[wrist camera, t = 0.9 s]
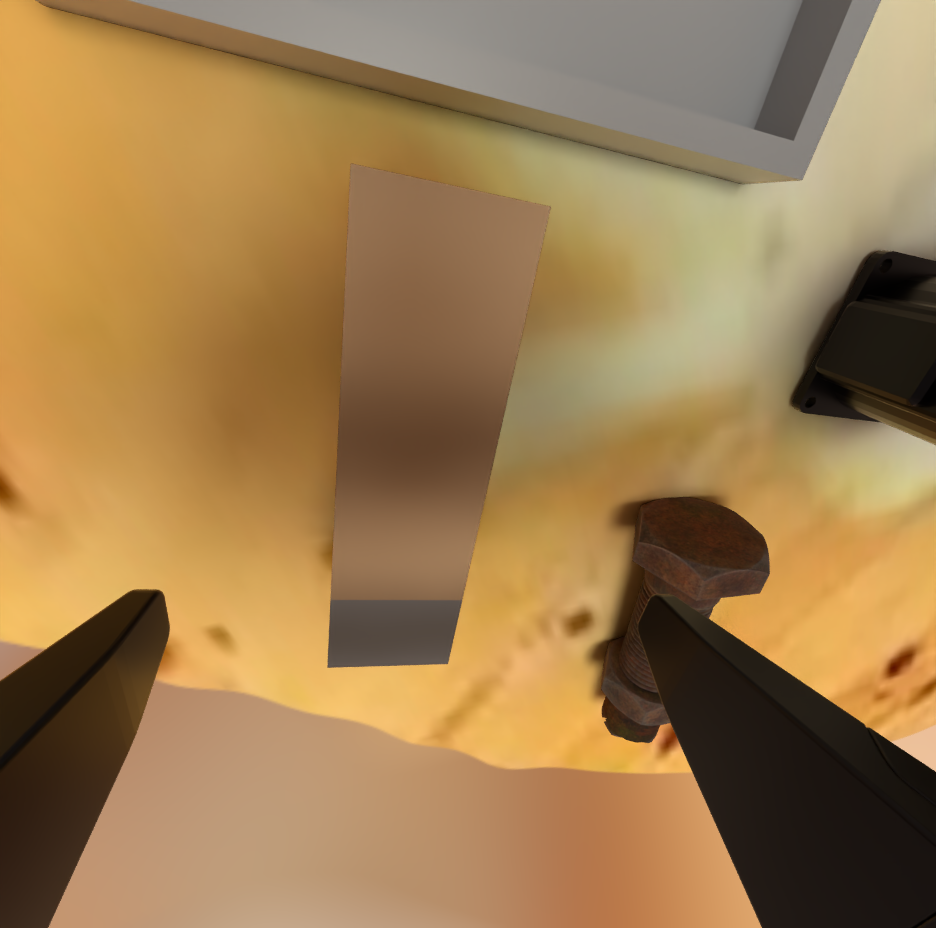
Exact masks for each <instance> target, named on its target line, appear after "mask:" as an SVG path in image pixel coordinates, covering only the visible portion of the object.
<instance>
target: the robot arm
mask: <svg viewBox="0 0 936 928" xmlns="http://www.w3.org/2000/svg"><path fill="white" fill-rule="evenodd" d="M881 264H882V265H881ZM880 265H881V267H880ZM793 407H794V408H795V409H797V410H799V411H801V412H803V413H808V414H817V415H825V416H833V417H841V418H850V419H858V420H866V421H875V422H883V423H885V424H888V425H890V426H892V427H895V428H897V429H899V430H902V431H904V432H906V433H909V434H911V435H913V436H916V437H918V438H920V439H923V440H925V441H927V442H930V443H932V444H935V445H936V261H932V260H928V259H924V258H920V257H916V256H911V255H907V254H903V253H899V252H894V251H878V252H876V253H874V254H873V255H872V256H870V257H869V259H868V260H867V262H866V263H865V265H864V267H863V269H862V271H861V273H860V275H859V277H858V278H857V280H856V282H855V284H854V286H853V288H852V290H851V292H850V294H849V295H848V297H847V299H846V301H845V303H844V305H843V307H842V309H841V310H840V312H839V314H838V316H837V318H836V320H835V322H834V324H833V325H832V327H831V329H830V331H829V333H828V335H827V337H826V339H825V341H824V342H823V344H822V346H821V348H820V350H819V352H818V354H817V356H816V357H815V359H814V361H813V363H812V365H811V367H810V369H809V371H808V373H807V374H806V376H805V378H804V380H803V382H802V384H801V386H800V388H799V389H798V391H797V393H796V395H795V397H794V399H793ZM169 632H170V624H169V619H168V613H167V607H166V602H165V597H164V594H163V592H162V591H160V590H148V589H136V590H132V591H130V592H128V593H126V594H125V595H123V596H122V597H120V598H119V599H118V600H116V601H115V602H113V603H112V604H110V605H109V606H107V607H106V608H105V609H103V610H102V611H100V612H99V613H97V614H96V615H94V616H93V617H92V618H90V619H89V620H87V621H86V622H84V623H83V624H81V625H80V626H79V627H77V628H76V629H74V630H73V631H71V632H70V633H68V634H67V635H65V636H64V637H63V638H61V639H60V640H58V641H57V642H55V643H54V644H52V645H51V646H50V647H48V648H47V649H45V650H44V651H42V652H41V653H40V654H38V655H37V656H35V657H34V658H32V659H31V660H29V661H28V662H26V663H25V664H24V665H22V666H21V667H19V668H18V669H16V670H15V671H13V672H12V673H11V674H9V675H8V676H6V677H5V678H4V679H2V680H1V681H0V928H48V927H49V925H50V923H51V920H52V918H53V916H54V914H55V912H56V909H57V907H58V905H59V903H60V901H61V899H62V896H63V894H64V892H65V890H66V888H67V885H68V883H69V881H70V879H71V876H72V874H73V872H74V870H75V868H76V866H77V863H78V861H79V859H80V857H81V855H82V853H83V850H84V848H85V846H86V844H87V842H88V839H89V837H90V835H91V833H92V831H93V829H94V826H95V824H96V822H97V820H98V817H99V815H100V813H101V811H102V809H103V807H104V805H105V802H106V800H107V798H108V796H109V793H110V791H111V789H112V787H113V785H114V783H115V781H116V778H117V776H118V774H119V772H120V770H121V767H122V765H123V763H124V761H125V758H126V756H127V754H128V752H129V750H130V747H131V745H132V743H133V740H134V738H135V735H136V733H137V730H138V727H139V724H140V722H141V719H142V716H143V713H144V710H145V707H146V704H147V701H148V698H149V695H150V692H151V689H152V686H153V683H154V680H155V677H156V674H157V671H158V668H159V665H160V662H161V659H162V656H163V653H164V650H165V647H166V644H167V641H168V637H169ZM638 634H639V637H640V640H641V643H642V646H643V649H644V652H645V655H646V658H647V661H648V663H649V666H650V669H651V672H652V675H653V678H654V681H655V684H656V687H657V690H658V693H659V696H660V698H661V701H662V704H663V706H664V709H665V711H666V713H667V716H668V718H669V721H670V723H671V725H672V727H673V730H674V732H675V734H676V736H677V738H678V741H679V743H680V745H681V747H682V750H683V752H684V754H685V756H686V759H687V761H688V763H689V765H690V768H691V770H692V772H693V774H694V777H695V779H696V781H697V783H698V786H699V788H700V790H701V792H702V794H703V797H704V799H705V801H706V803H707V806H708V808H709V810H710V812H711V815H712V817H713V819H714V821H715V823H716V826H717V828H718V830H719V833H720V835H721V837H722V839H723V842H724V844H725V846H726V848H727V850H728V853H729V855H730V857H731V859H732V862H733V864H734V866H735V868H736V870H737V873H738V875H739V877H740V880H741V882H742V884H743V886H744V888H745V891H746V893H747V895H748V898H749V900H750V902H751V904H752V906H753V909H754V911H755V913H756V915H757V918H758V920H759V922H760V924H761V927H762V928H936V772H935V771H934V770H932V769H931V768H929V767H928V766H926V765H925V764H923V763H922V762H920V761H919V760H917V759H916V758H914V757H913V756H911V755H910V754H908V753H907V752H905V751H904V750H902V749H901V748H899V747H898V746H896V745H894V744H893V743H892V742H890V741H889V740H887V739H886V738H884V737H883V736H881V735H880V734H878V733H877V732H875V731H874V730H872V729H871V728H868V727H867V728H866V726H865V725H864V724H863V723H862V722H860V721H859V720H858V719H856V718H855V717H853V716H852V715H850V714H849V713H847V712H846V711H844V710H843V709H841V708H840V707H838V706H837V705H835V704H834V703H832V702H831V701H829V700H828V699H826V698H825V697H824V696H822V695H821V694H819V693H818V692H816V691H815V690H813V689H812V688H810V687H809V686H807V685H806V684H804V683H803V682H801V681H800V680H798V679H797V678H795V677H794V676H792V675H791V674H790V673H788V672H787V671H785V670H784V669H782V668H781V667H779V666H778V665H776V664H775V663H773V662H772V661H770V660H769V659H767V658H766V657H764V656H763V655H761V654H760V653H758V652H757V651H756V650H754V649H753V648H751V647H750V646H748V645H747V644H745V643H744V642H742V641H741V640H739V639H738V638H736V637H735V636H733V635H732V634H730V633H729V632H727V631H726V630H725V629H723V628H722V627H720V626H719V625H717V624H716V623H714V622H713V621H711V620H710V619H708V618H707V617H705V616H704V615H702V614H701V613H699V612H698V611H696V610H695V609H693V608H692V607H691V606H689V605H688V604H686V603H685V602H683V601H682V600H680V599H679V598H677V597H676V596H674V595H671V594H654V595H652V596H651V597H650V598H649V600H648V602H647V604H646V607H645V609H644V611H643V613H642V615H641V617H640V619H639V621H638Z"/></svg>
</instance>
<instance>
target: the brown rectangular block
mask: <svg viewBox="0 0 936 928" xmlns="http://www.w3.org/2000/svg"><path fill="white" fill-rule="evenodd" d="M550 209H551V207H550V206H546V205H541V204H536V203H532V202H527V201H523V200H518V199H513V198H509V197H504V196H499V195H495V194H490V193H486V192H481V191H476V190H472V189H467V188H462V187H458V186H453V185H449V184H444V183H439V182H435V181H430V180H425V179H421V178H416V177H412V176H407V175H402V174H398V173H393V172H388V171H384V170H379V169H375V168H370V167H365V166H361V165H356V164H351V168H350V189H349V211H348V233H347V255H346V276H345V298H344V320H343V342H342V363H341V385H340V407H339V429H338V450H337V472H336V494H335V515H334V537H333V559H332V581H331V602H330V624H329V646H328V668H331V667H364V666H397V665H429V664H448V661H449V656H450V652H451V648H452V643H453V639H454V634H455V630H456V625H457V621H458V617H459V612H460V608H461V603H462V599H463V594H464V590H465V586H466V581H467V577H468V572H469V568H470V563H471V559H472V554H473V550H474V546H475V541H476V537H477V532H478V528H479V523H480V519H481V515H482V510H483V506H484V501H485V497H486V492H487V488H488V484H489V479H490V475H491V470H492V466H493V461H494V457H495V453H496V448H497V444H498V439H499V435H500V430H501V426H502V422H503V417H504V413H505V408H506V404H507V399H508V395H509V390H510V386H511V382H512V377H513V373H514V368H515V364H516V359H517V355H518V351H519V346H520V342H521V337H522V333H523V328H524V324H525V320H526V315H527V311H528V306H529V302H530V297H531V293H532V289H533V284H534V280H535V275H536V271H537V266H538V262H539V257H540V253H541V249H542V244H543V240H544V235H545V231H546V226H547V222H548V218H549V213H550Z"/></svg>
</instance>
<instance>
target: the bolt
mask: <svg viewBox="0 0 936 928" xmlns="http://www.w3.org/2000/svg"><path fill="white" fill-rule="evenodd" d="M633 562H635V563H637V564H638V565H640V566H641V567H643V568H645V571H644V572H645V577H644V579H643V583H642V586H641V588H640V592H639V596H638V598H637V601H636V605H635V608H634V610H633V614H632V616H631V620H630V623H629V626H628V630H627V633H626V635H625V636H624V637H620V638H618V639H615V640H613V641H610V642H609V644H608V648H607V651H606V655H605V659H604V665H603V673H602V682H601V690H602V691H603V693H604V694H605V695H606V697H605V700H604V703H603V706H602V717H605V718H607V719H605V720H606V721H605V722H604V723H605V725H606V727H607V729H608V730H609V732H610V733H611V735H613V736H617V737H622V738H624V739H626V740H629V741H633V742H645V743H650V742H652V741H653V739H654V738H655V736H656V734H657V732H658V729H659V727H660V725H663V724H667V723H670V721H669V718H668V716H667V713H666V711H665V709H664V706H663V704H662V701H661V698H660V696H659V693H658V690H657V687H656V684H655V681H654V678H653V675H652V672H651V669H650V666H649V663H648V661H647V658H646V655H645V652H644V649H643V646H642V643H641V640H640V637H639V634H638V621H639V619H640V617H641V615H642V613H643V611H644V609H645V607H646V604H647V602H648V600H649V598H650V597H651V596H652V595H654V594H671V595H674V596H676V597H677V598H679V599H680V600H682V601H683V602H685V603H686V604H688V605H689V606H691V607H692V608H693V609H695V610H696V611H698V612H699V613H701V614H702V615H704V616H705V617H707V618H708V619H709V617H710V615H711V613H712V610H713V607H714V606H715V605H716V604H717V603H718V602H719V600H720V599H721V598H725V597H733V596H741V595H750V594H758V593H760V592H761V590H762V588H763V586H764V584H765V582H766V580H767V578H768V576H769V574H770V567H769V553H768V548H767V544H766V542H765V539H764V537H763V536H762V534H761V533H760V532H758V531H757V530H756V529H755V528H754V527H753V526H752V525H751V524H750V523H748V522H747V521H746V520H745V519H744V518H742V517H741V516H740V515H738V514H737V513H736V512H734V511H732V510H730V509H728V508H726V507H723V506H721V505H717V504H714V503H710V502H706V501H703V500H699V499H693V498H687V497H677V498H663V499H658V500H654V501H651V502H649V503H646V504H644V505H641V507H640V511H639V514H638V518H637V521H636V525H635V536H634V549H633Z"/></svg>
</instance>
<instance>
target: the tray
mask: <svg viewBox="0 0 936 928" xmlns="http://www.w3.org/2000/svg"><path fill="white" fill-rule="evenodd" d="M36 1H37V2H39V3H41V4H42V5H44V6H47V7H51V8H55V9H59V10H63V11H67V12H71V13H75V14H78V15H82V16H86V17H90V18H94V19H98V20H102V21H106V22H110V23H114V24H118V25H122V26H125V27H129V28H133V29H137V30H141V31H145V32H149V33H153V34H157V35H161V36H165V37H169V38H173V39H176V40H180V41H184V42H188V43H192V44H196V45H200V46H204V47H208V48H212V49H216V50H220V51H223V52H227V53H231V54H235V55H239V56H243V57H247V58H251V59H255V60H259V61H263V62H267V63H271V64H274V65H278V66H282V67H286V68H290V69H294V70H298V71H302V72H306V73H310V74H314V75H318V76H321V77H325V78H329V79H333V80H337V81H341V82H345V83H349V84H353V85H357V86H361V87H365V88H368V89H372V90H376V91H380V92H384V93H388V94H392V95H396V96H400V97H404V98H408V99H412V100H416V101H419V102H423V103H427V104H431V105H435V106H439V107H443V108H447V109H451V110H455V111H459V112H463V113H466V114H470V115H474V116H478V117H482V118H486V119H490V120H494V121H498V122H502V123H506V124H510V125H514V126H517V127H521V128H525V129H529V130H533V131H537V132H541V133H545V134H549V135H553V136H557V137H561V138H564V139H568V140H572V141H576V142H580V143H584V144H588V145H592V146H596V147H600V148H604V149H608V150H612V151H615V152H619V153H623V154H627V155H631V156H635V157H639V158H643V159H647V160H651V161H655V162H659V163H662V164H666V165H670V166H674V167H678V168H682V169H686V170H690V171H694V172H698V173H702V174H706V175H710V176H713V177H717V178H721V179H725V180H729V181H733V182H737V183H741V184H752V183H767V182H782V181H798V180H802V179H803V177H804V175H805V172H806V170H807V168H808V166H809V163H810V161H811V159H812V156H813V154H814V152H815V150H816V147H817V145H818V143H819V141H820V138H821V136H822V134H823V131H824V129H825V127H826V125H827V122H828V120H829V118H830V115H831V113H832V111H833V109H834V106H835V104H836V102H837V99H838V97H839V95H840V93H841V90H842V88H843V86H844V83H845V81H846V79H847V77H848V74H849V72H850V70H851V68H852V65H853V63H854V61H855V58H856V56H857V54H858V52H859V49H860V47H861V45H862V42H863V40H864V38H865V36H866V33H867V31H868V29H869V26H870V24H871V22H872V20H873V17H874V15H875V13H876V10H877V8H878V6H879V4H880V1H881V0H36Z"/></svg>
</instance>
